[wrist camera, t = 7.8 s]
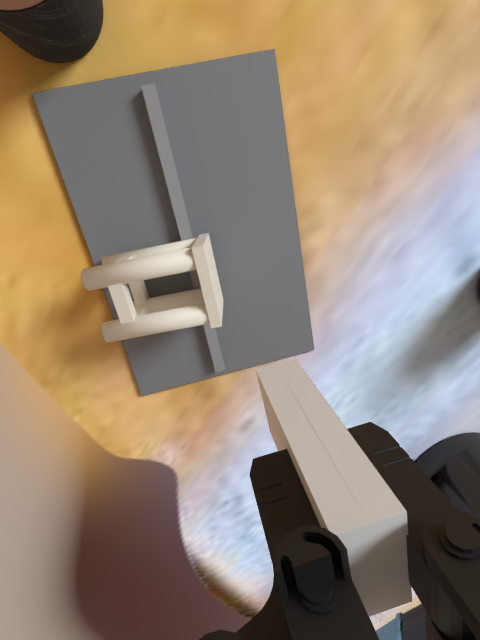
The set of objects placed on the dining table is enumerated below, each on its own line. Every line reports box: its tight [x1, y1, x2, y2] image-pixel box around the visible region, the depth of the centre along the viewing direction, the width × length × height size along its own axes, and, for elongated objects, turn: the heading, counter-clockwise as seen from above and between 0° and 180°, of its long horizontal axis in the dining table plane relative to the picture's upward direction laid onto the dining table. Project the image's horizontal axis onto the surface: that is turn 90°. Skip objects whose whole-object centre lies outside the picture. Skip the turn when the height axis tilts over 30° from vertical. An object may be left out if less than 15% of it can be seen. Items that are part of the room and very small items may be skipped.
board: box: [32, 49, 314, 396], centre depth 30 cm, size 26×18×1 cm
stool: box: [81, 233, 223, 343], centre depth 27 cm, size 6×6×9 cm
